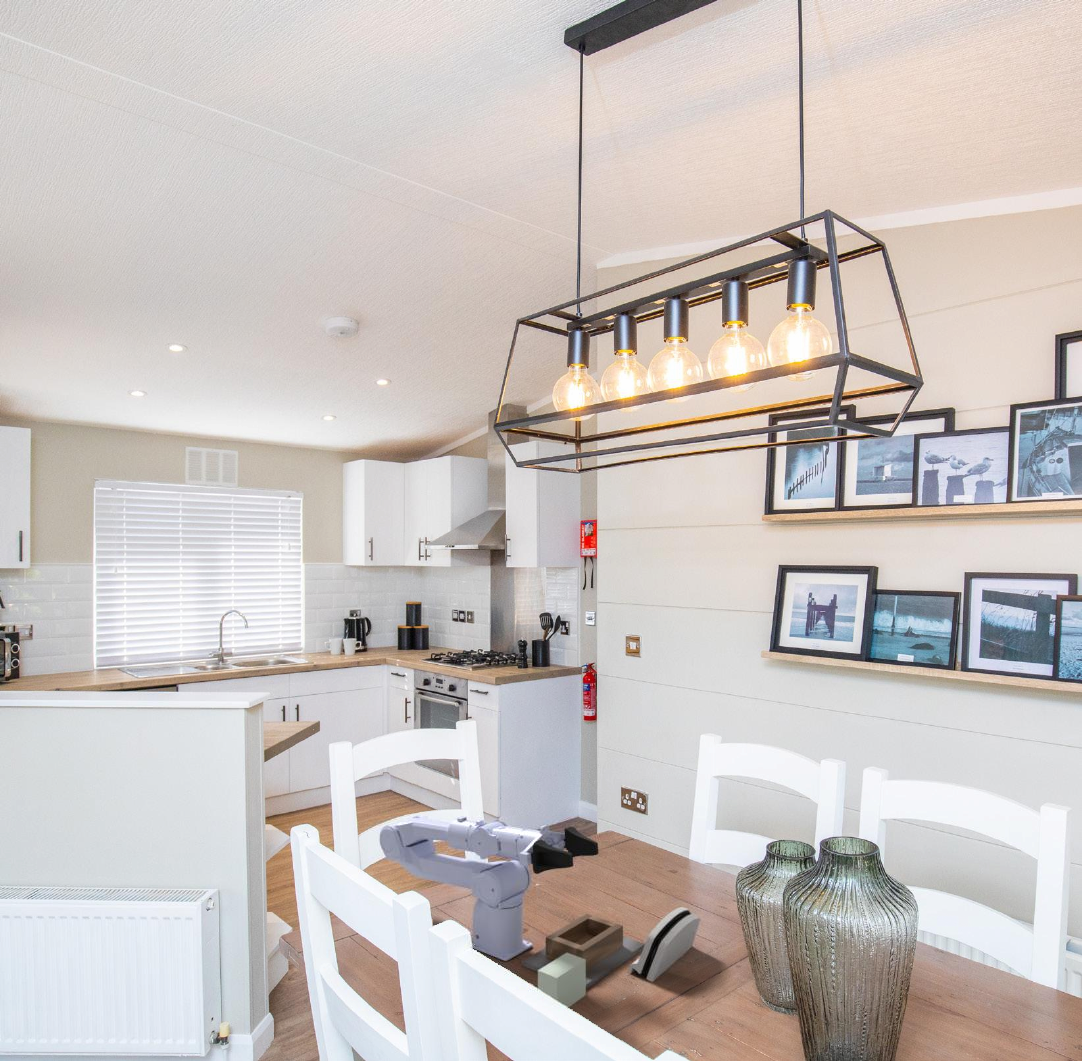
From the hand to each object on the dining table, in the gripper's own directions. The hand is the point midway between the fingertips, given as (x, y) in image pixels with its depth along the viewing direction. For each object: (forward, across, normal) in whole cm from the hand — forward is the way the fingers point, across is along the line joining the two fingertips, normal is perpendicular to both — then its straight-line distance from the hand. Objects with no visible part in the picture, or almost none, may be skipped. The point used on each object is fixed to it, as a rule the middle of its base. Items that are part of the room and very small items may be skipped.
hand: (584, 854), depth 142 cm
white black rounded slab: (+6, +15, +23) cm, 28 cm away
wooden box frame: (-7, +7, +21) cm, 23 cm away
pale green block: (-1, -8, +22) cm, 23 cm away
